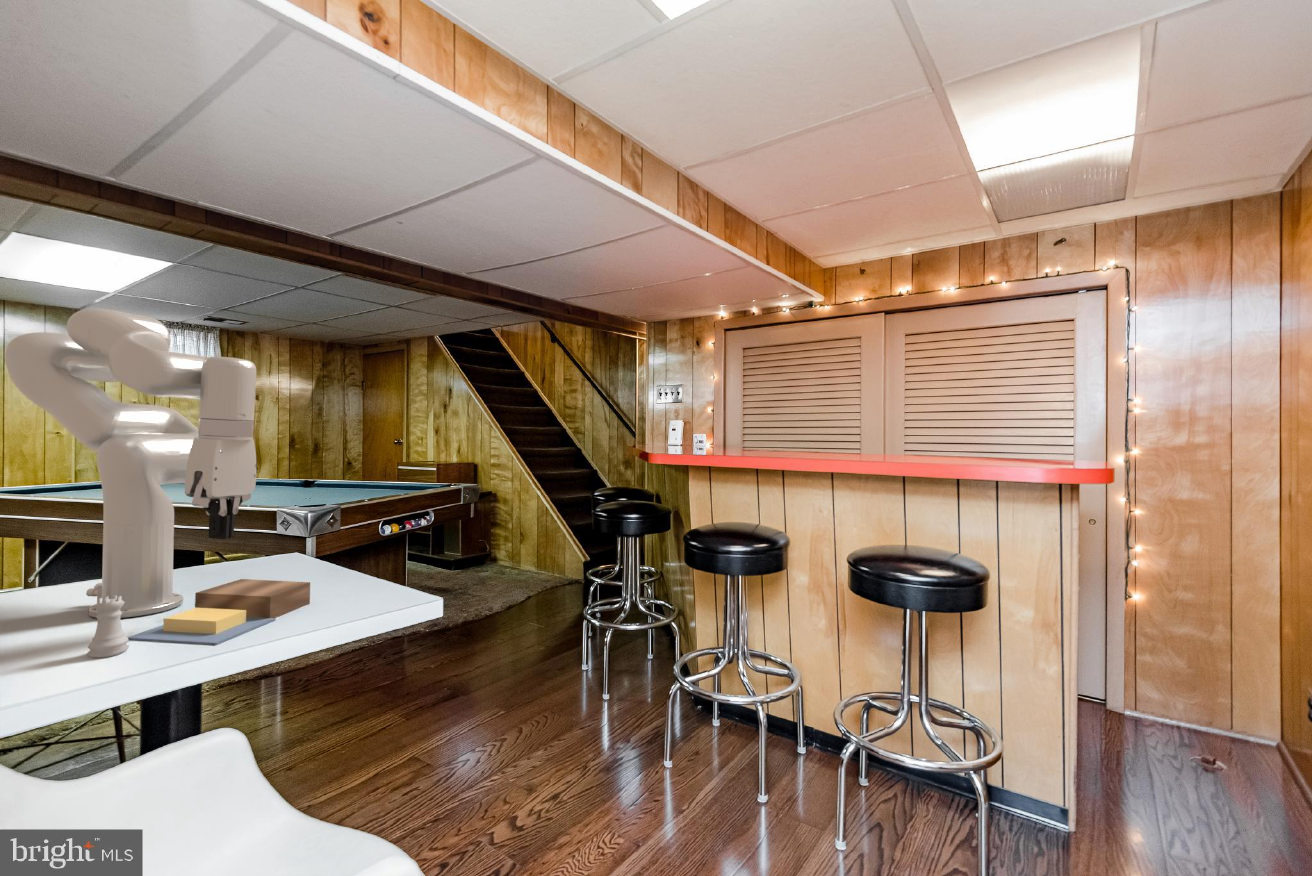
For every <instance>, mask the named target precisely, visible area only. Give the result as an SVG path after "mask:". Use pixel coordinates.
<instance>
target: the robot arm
mask: <svg viewBox="0 0 1312 876" xmlns="http://www.w3.org/2000/svg"><path fill="white" fill-rule="evenodd" d="M66 331H67V333H68V334H66V333H57V332H41V331H40V332H30V333H24V334H21V335H18V336H16V337H14V338H13V339H11V340H10V341H9V343H8V344H7V346H6V348H5V353H4V361H5V366H6V369H7V373H8V375H9V377H10V380H11V381H12V383H13V384H14V386H15V387H16V388H17V389H18V391H19V392H20V393H21V394H23V396H25V397H26V398H27V399H28V400H29V401H30V402H32V403H33V404H35V405H36V406H37V407H39V408H40V409H42V410H43V411H45V412H46V413H48V414H49V415H50V416H52V417H53V418H54V419H55V420H56V421H57V422H58V423H59V424H60V425H61V426H62V427H63V428H64V429H65V430H66V431H68V432H69V433H70V434H71V435H72V436H73V437H74V438H75V439H76V440H77V441H78V442H79V443H81V444H82V445H83V446H85V447H86V448H88V449H89V450H91V451H94V452H97V454H96V465H97V471H98V474H99V479H100V484H101V489H102V500H103V514H102V515H103V516H102V517H103V521H102V522H103V527H102V529H103V530H102V531H103V532H102V538H103V539H102V570H101V571H102V572H101V573H102V576H101V582H98V583H96V584H95V585H94V586H93V588H89V589H86V591H85V592H86V593H85V594H86V596H88V597H96V603H95V604H93V605H91V606H89V608H88V614H89V616H90V617H91V618H92V617H93V618H96V616H97V615H98V611H97V610H96V609H95V608H94V606H95V605H96V604H97V602H98V599H99V598H102V600H104V597H107V596H109V599H112V596H117V598H118V596H121V600H123V601H124V602H125V603H124V604H123V606H122V607H121V608H120V611H121V612H122V615H121V617H120V619H122V618H131V617H132V618H133V617H134V618H135V617H141V616H146V615H147V616H148V615H151V614H156V613H161V612H165V611H168V610H172V609H175V608H177V607H179V606H181V605H182V604H183V603H184V596H183V595H182V594H180V593H175V592H174V593H173V586H174V585H173V584H174V583H173V582H174V581H173V579H174V577H173V576H174V545H175V544H174V543H175V542H174V541H175V540H174V537H175V507H174V504H173V502H172V500H171V499H170V497H169V496H168V494H167V493H165V491H164V490H163V488H162V485H173V484H177V485H178V484H184V494H185V496H187V497H189V498H192V501H191V505H192V506H194V507H198V508H199V507H200V508H203V509H204V510H205V513H206V515H207V516H208V517H209V518H208V519H209V520H208V522H209V523H208V538H209V539H216V540H227V539H232V538H233V537H234V534H235V532H234V531H235V515H237V514H238V512H239V507H240V506H241V504H242V503H244V502H247V501H250V500H251V498H252V497H251V496H252V495H251V494H252V493H253V492H254V491H255V488H256V483H257V454H256V453H257V452H256V445H255V439H254V429H255V424H254V423H255V410H256V408H255V407H256V405H255V404H256V389H257V386H256V385H257V367H256V365H255V363H254V362H253V361H251V360H249V359H243V358H237V357H230V356H229V357H227V356H202V355H201V356H200V355H196V354H195V355H194V354H187V353H180V352H173V351H170V350H169V349H170V346H171V335H170V332H169V330H168V328H167V326H166V325H164V323H163V322H161V321H160V320H158V319H156V318H154V317H150V316H148V315H141V314H134V313H131V312H125V311H120V310H116V309H114V310H113V309H109V308H102V307H88V308H84V309H80V310H78V311H76V312H74V313H73V314H72V315H71V316H70V317H69V318H68V319H67V322H66ZM89 381H91V382H89ZM92 382H102V383H117V382H119V384H122V385H125V386H126V387H128V388H130V389H133V390H134V391H137V392H139V393H142V394H145V395H148V396H152V397H153V396H154V397H161V398H162V397H163V398H179V399H180V398H181V399H191V400H199V411H198V412H199V414H198V427H197V426H196V425H194V424H193V423H192V422H191V421H190V420H188V419H187V418H186V417H185V416H184V415H182V414H181V413H180V412H178V411H177V410H176V409H173V408H171V407H168V406H164V405H158V404H157V405H156V404H148V403H147V404H145V403H130V402H121V401H118V400H116V399H115V398H112V397H111V396H110V394H108V393H107V392H106V391H105V390H103V389H102V388H100V387H99V386H97V385H95V384H94V383H92Z"/></svg>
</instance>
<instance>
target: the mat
mask: <svg viewBox="0 0 1312 876" xmlns="http://www.w3.org/2000/svg"><path fill="white" fill-rule="evenodd" d="M276 618H277V617H276ZM276 618H259V617H246V622H245V623H242V624H240V625H237V626H235V627H232V628H230V629H227V630H225V631H222V632H220V633H217V634H207V633H189V632H171V631H163V624H162V625H161V624H160V625H159V626H156V627H153V628H151V629H146V630H144V631H142V632H139V633H138V632H137V633H136V634H133V635H130V636H127V637H128V640H129V641H130V640H131V641H146V642H161V643H175V644H176V643H178V644H193V645H197V644H198V645H210V646H211V645H213V646H218V645H221V644H222V643H224V642H228V641H229V640H233V639H234V638H237V637H239V636H242V635H243V634H245V633H249V632H250V631H253V630H256V629H257V628H261V627H263V626H265V625H267V624H270V623H272V622H274V621H275V622H276Z"/></svg>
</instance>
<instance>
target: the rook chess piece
mask: <svg viewBox="0 0 1312 876" xmlns="http://www.w3.org/2000/svg"><path fill="white" fill-rule="evenodd" d="M124 603H125V602H124V601H123V600H121V596H118V598H117V596H112V599H109V596H107V597H104V600H102V598H99V599H98V602H97V601H96V603H95V604H96V605H95V604H94V605H95V606H94V608H95V609H96V610H97V611H98V615H97V616H96V617H95V619H97V625H96V628H95V629H96V630H95V634H94V636H93V637H92V640H91V641H90V642H88V643H89V644H88V646H87V649H88V650H89V651H88V652H87V653H86V655H87V656H88V657H89V658H91V659H105V658H111V657H117V656H119V655H121V654H124V653H125V652H126V651H128V649H129V648H130V645H128V643H129V641H130V640H128V637H129V636H126V633H125V632H124V631H123V628H122V621H121V618H120V617H121V615H122V612H121V611H120V608H121V607H122V606H123V604H124Z"/></svg>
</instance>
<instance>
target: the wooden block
mask: <svg viewBox="0 0 1312 876" xmlns="http://www.w3.org/2000/svg"><path fill="white" fill-rule="evenodd" d="M194 594H195V596H194V597H195V599H194V603H195V604H194V608H214V609H233V610H246V617H259V618H278V617H281V616H283V615H285V614H288V613H290V612H292V611H295V610H297V609H299V608H302V607H305V606H307V605H309V604H310V603H311V582H308V581H289V580H288V581H287V580H269V579H268V580H267V579H248V578H247V579H246V578H243V579H242V578H241V579H237V580H234V581H231V582H230V581H229V582H227V583H224V584H220V585H217V586H213V587H211V588H207V589H204V590H200V591H197V592H195V593H194Z"/></svg>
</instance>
